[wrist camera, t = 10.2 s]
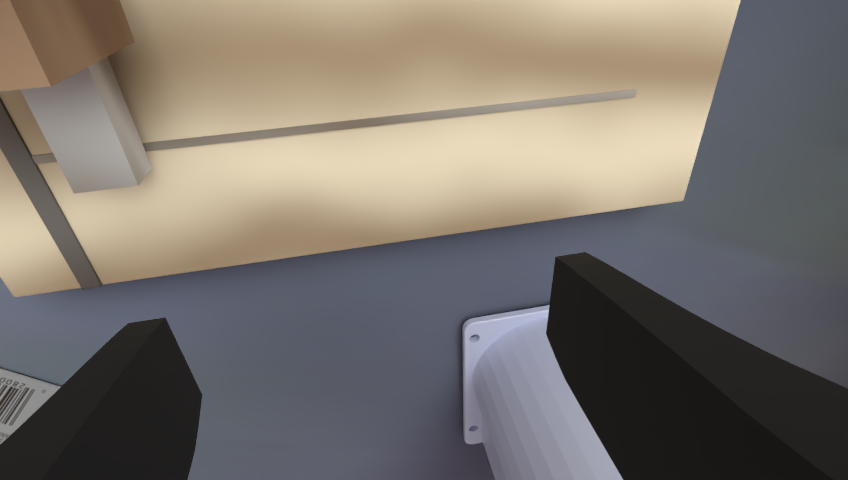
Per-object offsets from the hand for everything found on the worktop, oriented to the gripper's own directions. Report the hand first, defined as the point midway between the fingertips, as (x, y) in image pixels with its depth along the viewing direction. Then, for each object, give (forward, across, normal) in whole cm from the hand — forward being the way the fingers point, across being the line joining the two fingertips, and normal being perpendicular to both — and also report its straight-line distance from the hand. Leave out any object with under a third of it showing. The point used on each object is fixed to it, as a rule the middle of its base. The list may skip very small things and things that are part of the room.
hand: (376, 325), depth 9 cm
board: (+9, 0, -3) cm, 10 cm away
